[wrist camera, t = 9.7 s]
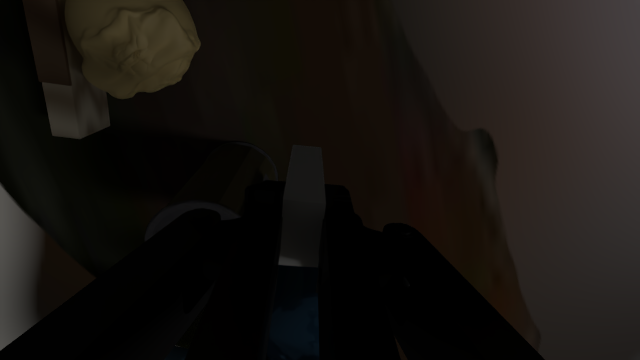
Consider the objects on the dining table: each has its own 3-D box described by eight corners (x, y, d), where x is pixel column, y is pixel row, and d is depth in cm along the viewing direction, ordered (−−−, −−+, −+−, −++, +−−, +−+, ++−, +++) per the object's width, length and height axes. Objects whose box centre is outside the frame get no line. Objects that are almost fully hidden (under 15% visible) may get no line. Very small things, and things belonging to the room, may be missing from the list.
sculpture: (155, 102, 41) (106, 122, 31) (83, 11, 37) (-1, 1, 27) (227, 53, 39) (198, 59, 29) (160, -50, 35) (98, -84, 25)
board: (110, 125, 42) (78, 139, 37) (86, 122, 42) (49, 136, 36) (82, -104, 33) (32, -134, 27) (50, -110, 32) (-7, -142, 27)
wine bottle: (256, 245, 50) (184, 494, 23) (330, 209, 48) (351, 440, 21) (299, 303, 55) (284, 564, 28) (369, 273, 53) (427, 527, 25)
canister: (229, 219, 48) (177, 330, 30) (188, 160, 44) (101, 247, 26) (293, 190, 47) (279, 290, 28) (257, 127, 43) (214, 195, 24)
